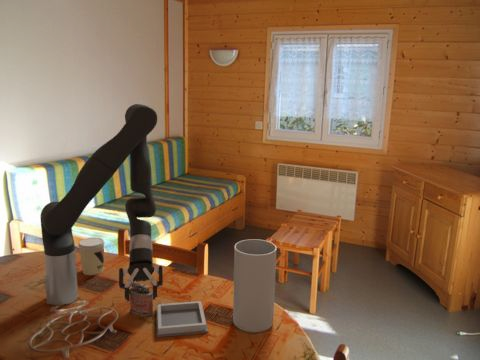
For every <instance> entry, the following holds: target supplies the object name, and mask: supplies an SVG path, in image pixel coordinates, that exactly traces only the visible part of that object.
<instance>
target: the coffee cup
mask: <svg viewBox="0 0 480 360" xmlns="http://www.w3.org/2000/svg"><path fill="white" fill-rule="evenodd" d="M78 247H79V248H78V250H79V256H80V257H79V258H80V264H81V270H82V273H83V275H86V276H95V275H100V274H102V272H104V268H105V266H104V265H105V241H104V239H103V238H100V237H88V238H83V239H82V240H80V241H79V243H78Z"/></svg>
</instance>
